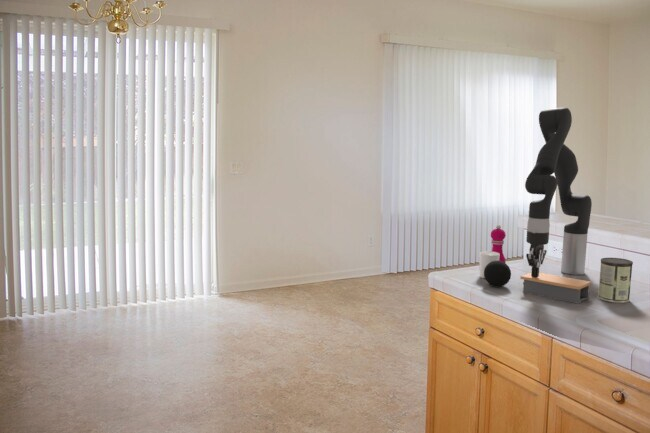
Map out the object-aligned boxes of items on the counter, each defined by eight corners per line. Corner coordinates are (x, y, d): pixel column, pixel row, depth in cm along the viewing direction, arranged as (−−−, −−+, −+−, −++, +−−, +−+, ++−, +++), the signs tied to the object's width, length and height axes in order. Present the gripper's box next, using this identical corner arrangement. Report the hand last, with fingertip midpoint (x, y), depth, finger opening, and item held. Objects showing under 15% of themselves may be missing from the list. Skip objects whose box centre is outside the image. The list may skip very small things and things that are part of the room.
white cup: (494, 274, 246) (496, 251, 244) (500, 279, 238) (502, 255, 237) (475, 274, 246) (477, 251, 244) (481, 279, 238) (482, 255, 236)
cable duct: (534, 287, 227) (535, 274, 226) (588, 297, 214) (589, 284, 213) (523, 292, 220) (524, 279, 219) (578, 303, 207) (579, 289, 206)
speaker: (495, 281, 235) (497, 257, 233) (515, 287, 226) (517, 262, 225) (477, 284, 229) (478, 259, 228) (497, 291, 221) (498, 264, 219)
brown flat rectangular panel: (533, 274, 227) (533, 271, 227) (590, 284, 213) (591, 281, 213) (520, 278, 218) (520, 276, 218) (579, 289, 204) (579, 286, 204)
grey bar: (524, 285, 226) (525, 279, 225) (587, 297, 210) (588, 291, 210) (521, 286, 224) (522, 280, 223) (585, 299, 209) (586, 292, 208)
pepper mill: (505, 274, 247) (508, 226, 244) (487, 273, 248) (490, 226, 245) (504, 270, 254) (506, 224, 251) (486, 269, 255) (489, 223, 252)
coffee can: (608, 293, 220) (611, 256, 218) (635, 300, 211) (639, 261, 209) (591, 297, 215) (594, 259, 212) (618, 304, 206) (622, 264, 204)
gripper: (535, 226, 221) (532, 272, 223) (520, 231, 211) (517, 278, 214) (555, 229, 216) (552, 275, 219) (541, 233, 206) (537, 282, 209)
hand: (534, 276), depth 216 cm, fingers closed
